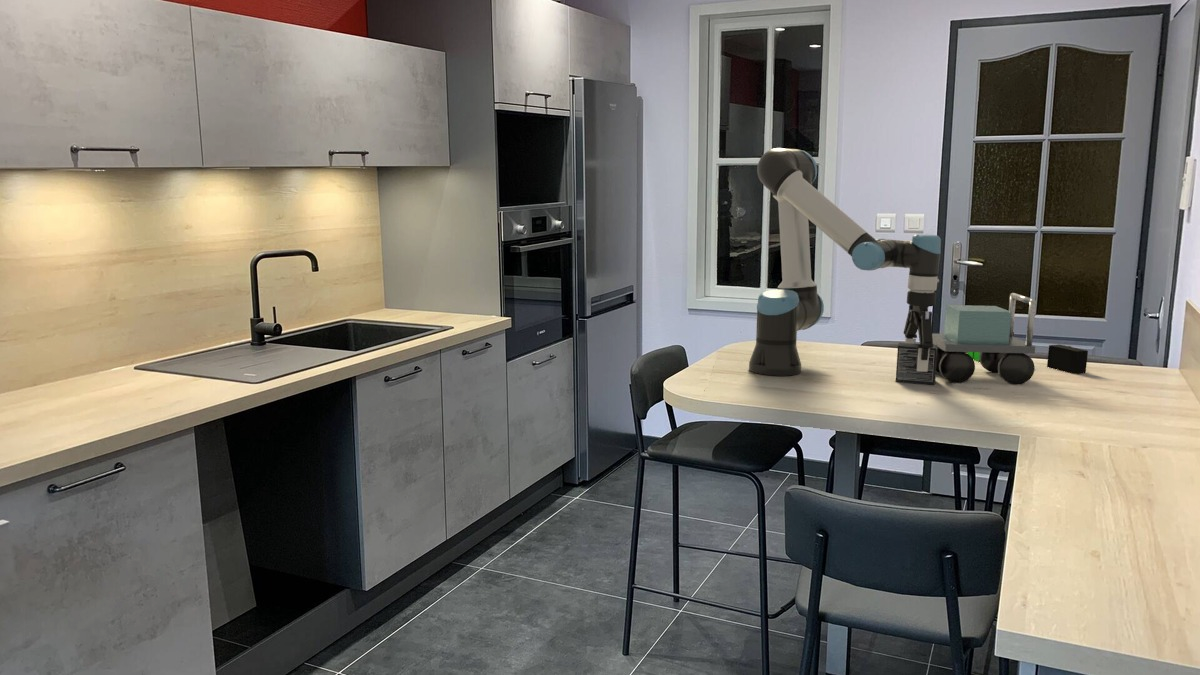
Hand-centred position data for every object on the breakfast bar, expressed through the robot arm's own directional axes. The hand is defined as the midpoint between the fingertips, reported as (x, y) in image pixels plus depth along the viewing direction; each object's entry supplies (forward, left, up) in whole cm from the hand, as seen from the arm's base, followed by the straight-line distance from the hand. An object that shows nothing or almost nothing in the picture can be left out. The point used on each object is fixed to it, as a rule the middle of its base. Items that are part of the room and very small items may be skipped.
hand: (915, 366), depth 247 cm
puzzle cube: (+32, +34, -5) cm, 47 cm away
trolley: (+19, +7, -4) cm, 21 cm away
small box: (0, 0, -5) cm, 5 cm away
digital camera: (+51, +21, -5) cm, 55 cm away
